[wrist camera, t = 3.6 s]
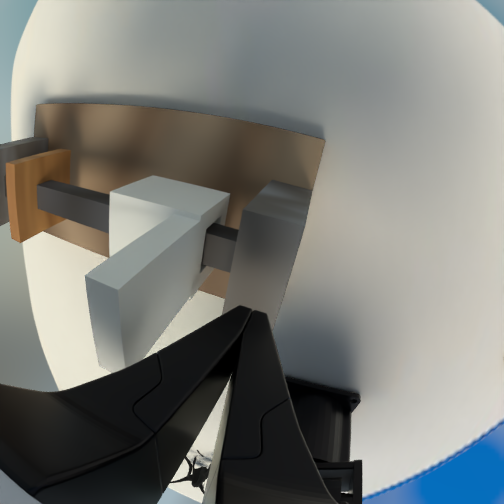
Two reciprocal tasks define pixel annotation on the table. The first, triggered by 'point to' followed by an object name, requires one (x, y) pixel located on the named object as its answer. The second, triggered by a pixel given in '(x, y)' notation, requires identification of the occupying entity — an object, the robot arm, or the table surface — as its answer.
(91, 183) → the rail board
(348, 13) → the table surface
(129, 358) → the white l-bracket
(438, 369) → the table surface
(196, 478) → the creature
